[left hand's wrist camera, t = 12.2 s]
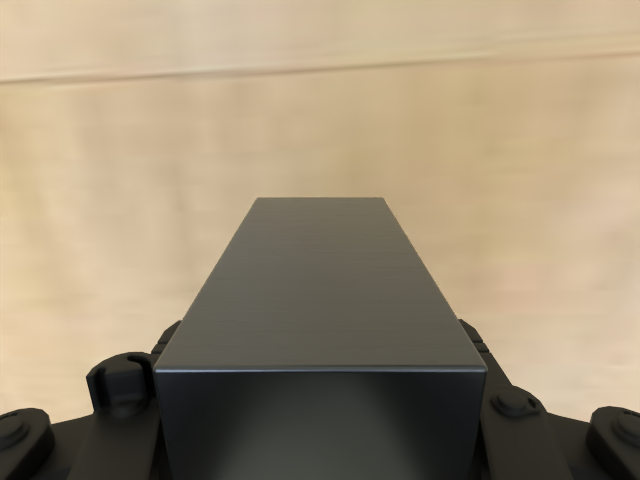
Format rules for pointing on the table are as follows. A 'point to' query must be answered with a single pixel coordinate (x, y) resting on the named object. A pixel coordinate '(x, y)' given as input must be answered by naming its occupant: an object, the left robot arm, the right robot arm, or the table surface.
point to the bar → (320, 356)
